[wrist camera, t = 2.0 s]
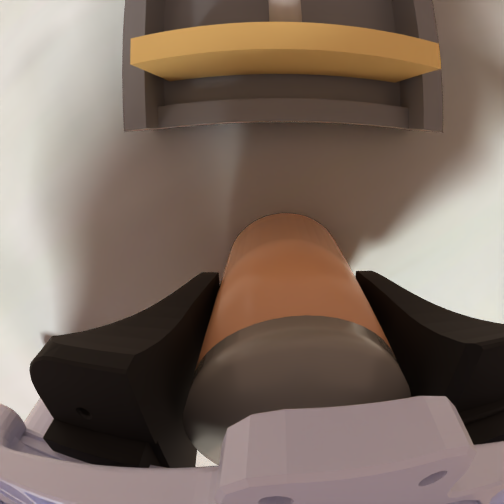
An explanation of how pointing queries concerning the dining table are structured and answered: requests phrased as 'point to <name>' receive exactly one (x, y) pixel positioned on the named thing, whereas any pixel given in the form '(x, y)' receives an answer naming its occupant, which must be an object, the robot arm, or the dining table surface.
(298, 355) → the jar
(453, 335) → the robot arm
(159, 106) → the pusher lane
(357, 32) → the tan pusher block
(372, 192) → the dining table surface
